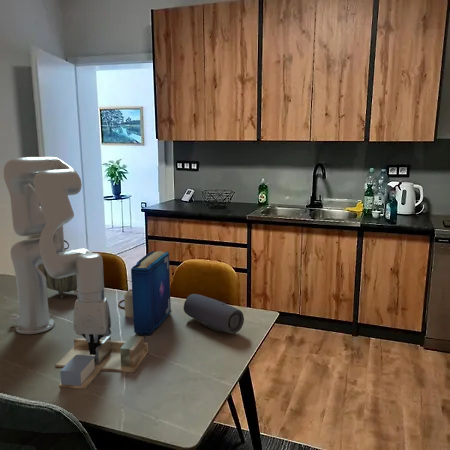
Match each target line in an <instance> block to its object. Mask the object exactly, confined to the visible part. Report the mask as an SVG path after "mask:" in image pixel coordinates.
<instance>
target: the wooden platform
mask: <svg viewBox="0 0 450 450" xmlns="http://www.w3.org/2000/svg"><path fill="white" fill-rule="evenodd" d="M103 340H104V339H100V344H101V343H102V341H103ZM149 350H150V349H149V343H148V342H145V338H144V336H138V335H135V336H134V335H130V336H129V337H128V338H127V339H126V340H115V339H114V340H113V339H111V352H110V353H109V354H108V355H107V356H106V357H105V359H104V360H103V361H102V362H101V363H100V364H99V365H95V370H94V371H93V372H92V373H91V374H90V375H89V377H88V378H87V379H86V380H85V381H84V382H83V384H82V385H81V386H76V385H63V384H61V382H60V383H59V384H58V387H60V388H70V389H81V390H82V389H83V390H86V389H87V388H88V387H89V386H90V384H91V383H92V381H94V379H95V378H96V377H97V375H98V374H99V373H100V372H101V371H110V372H121V373H122V372H124V373H135V372H136V371H137V369H138V368H139V366H140V365H141V363H142V362H143V360H144V359H145V357H146V356H147V354H148V352H149ZM75 355H86V356H94V357H95V355H90V351H89V347H88V342H87V341H86V339H85V338H84V337H83V338H82V337H81V338H80V337H75V338H74V339H73V347H72V348H71V349H70V350H69V351H68V352H67V353H66V354H65V355H63V356H62V358H61V359H60V360H58V362H56V363H55V367H56V368H57V367H58V368H63V367H64V366H65V365H66V364H67V363H68V362H69V361H70V360H71V359H72V358H73V357H74V356H75Z"/></svg>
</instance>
